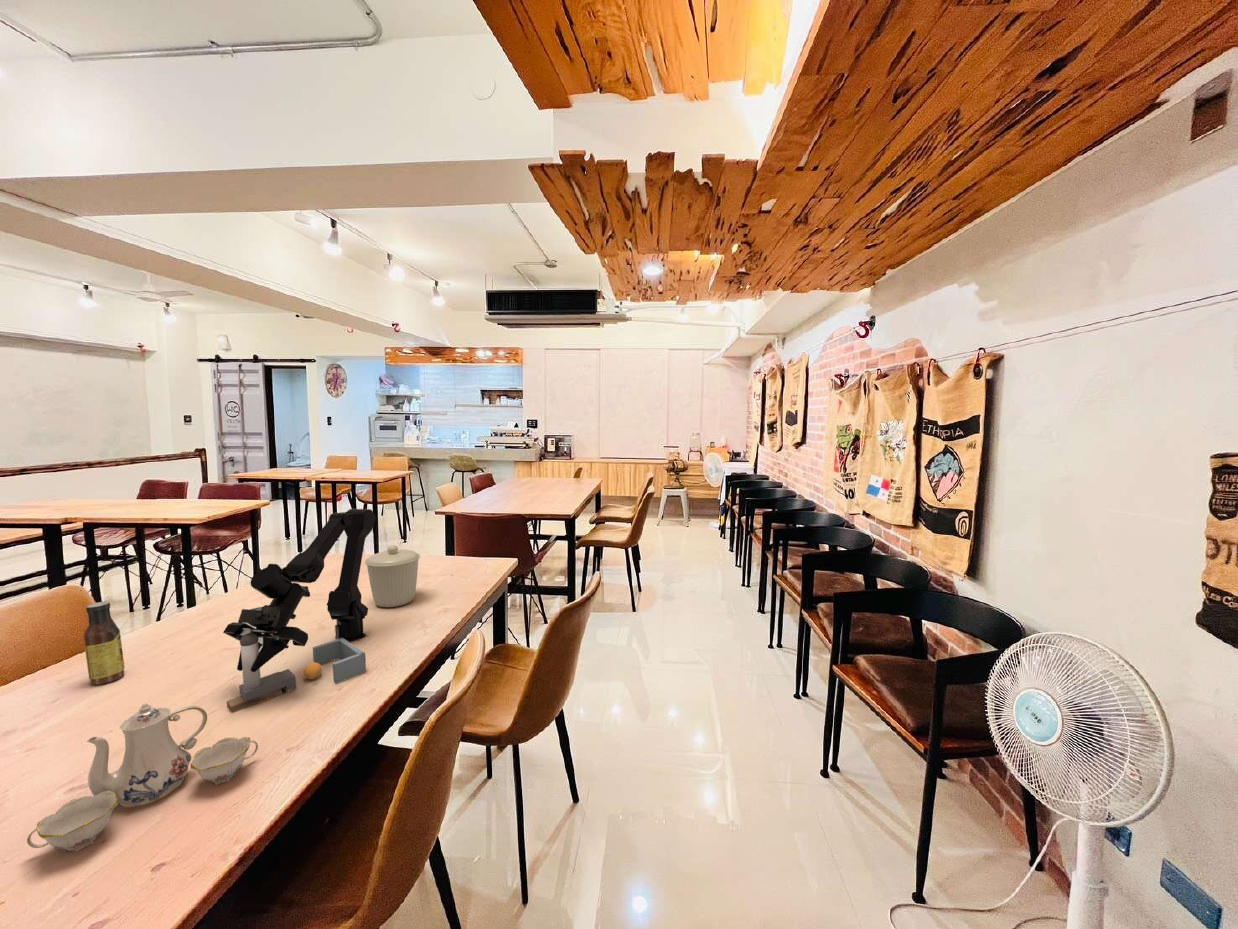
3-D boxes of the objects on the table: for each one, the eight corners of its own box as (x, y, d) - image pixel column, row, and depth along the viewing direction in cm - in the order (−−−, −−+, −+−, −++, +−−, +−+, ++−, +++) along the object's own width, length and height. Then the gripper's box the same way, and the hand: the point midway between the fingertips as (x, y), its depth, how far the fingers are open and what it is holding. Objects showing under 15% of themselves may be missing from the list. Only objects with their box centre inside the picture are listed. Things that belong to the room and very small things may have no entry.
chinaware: (39, 897, 68) (27, 794, 65) (20, 830, 77) (10, 737, 74) (267, 775, 91) (265, 696, 88) (233, 734, 100) (230, 662, 97)
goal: (343, 654, 134) (342, 637, 134) (366, 671, 125) (365, 653, 125) (313, 665, 128) (312, 647, 128) (335, 683, 119) (334, 664, 119)
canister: (432, 599, 175) (430, 543, 173) (385, 616, 160) (383, 555, 158) (402, 590, 185) (400, 537, 183) (356, 605, 170) (353, 547, 168)
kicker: (289, 681, 120) (285, 619, 118) (296, 688, 117) (292, 625, 115) (239, 699, 112) (234, 633, 110) (246, 707, 109) (241, 639, 107)
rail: (276, 688, 117) (276, 682, 117) (281, 693, 115) (281, 688, 115) (227, 706, 110) (226, 700, 109) (231, 712, 107) (231, 706, 107)
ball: (318, 672, 125) (317, 657, 124) (324, 677, 122) (323, 662, 122) (301, 678, 121) (300, 664, 121) (307, 684, 119) (306, 669, 119)
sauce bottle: (131, 675, 123) (123, 601, 121) (98, 688, 117) (89, 610, 115) (115, 671, 125) (108, 598, 123) (82, 683, 119) (74, 607, 117)
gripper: (227, 590, 115) (183, 656, 105) (295, 594, 112) (257, 663, 102) (259, 609, 123) (220, 671, 114) (323, 613, 121) (289, 678, 111)
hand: (245, 671), depth 110 cm, fingers closed on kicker, 3 cm apart
